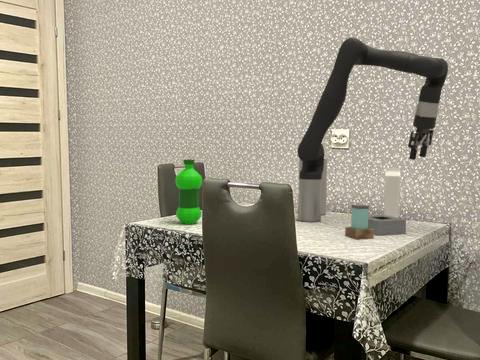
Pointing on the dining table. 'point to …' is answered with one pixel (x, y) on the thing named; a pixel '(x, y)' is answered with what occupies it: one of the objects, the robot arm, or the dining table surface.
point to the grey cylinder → (324, 186)
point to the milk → (392, 192)
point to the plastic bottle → (188, 193)
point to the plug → (359, 217)
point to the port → (386, 225)
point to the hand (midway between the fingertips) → (417, 158)
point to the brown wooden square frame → (359, 233)
